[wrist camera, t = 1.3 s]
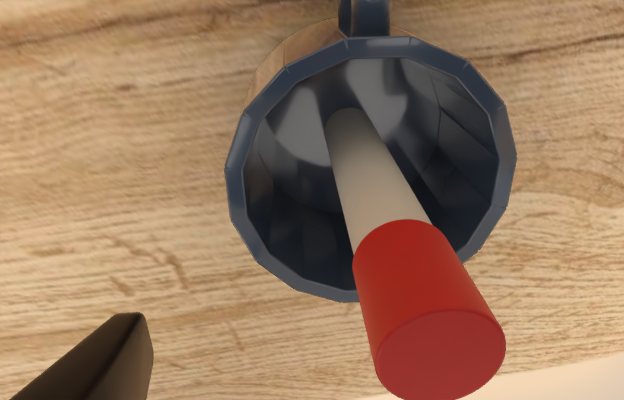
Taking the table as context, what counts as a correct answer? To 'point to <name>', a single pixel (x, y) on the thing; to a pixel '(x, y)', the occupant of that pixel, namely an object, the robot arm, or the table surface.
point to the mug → (390, 126)
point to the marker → (408, 276)
